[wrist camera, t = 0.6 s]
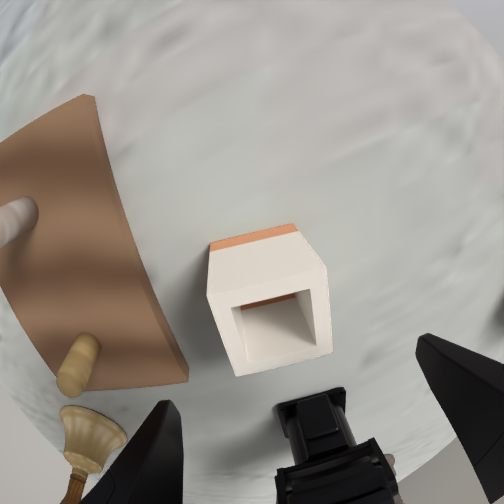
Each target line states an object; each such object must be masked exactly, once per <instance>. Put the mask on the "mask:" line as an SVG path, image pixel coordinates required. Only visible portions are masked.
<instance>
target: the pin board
mask: <svg viewBox="0 0 504 504" xmlns="http://www.w3.org/2000/svg"><path fill="white" fill-rule="evenodd" d="M0 286H1V288H2V290H3V293H4V294H5V296H6V298H7V300H8V302H9V304H10V306H11V308H12V310H13V312H14V313H15V315H16V317H17V319H18V320H19V322H20V324H21V326H22V327H23V329H24V331H25V332H26V334H27V335H28V337H29V339H30V340H31V342H32V343H33V345H34V346H35V348H36V349H37V351H38V352H39V354H40V355H41V357H42V358H43V360H44V361H45V362H46V364H47V365H48V367H49V368H50V369H51V371H52V372H53V373H54V375H55V376H56V377H57V379H56V382H57V386H58V388H59V390H60V391H61V392H62V393H63V394H64V395H65V396H68V397H77V396H79V395H80V394H81V393H82V392H83V391H97V390H116V389H130V388H141V387H151V386H161V385H169V384H177V383H184V382H188V377H189V367H188V365H187V363H186V361H185V359H184V357H183V355H182V353H181V350H180V348H179V346H178V344H177V342H176V340H175V338H174V336H173V334H172V332H171V329H170V327H169V325H168V323H167V321H166V318H165V316H164V314H163V312H162V309H161V307H160V305H159V303H158V300H157V298H156V295H155V293H154V291H153V288H152V286H151V283H150V281H149V278H148V276H147V273H146V271H145V268H144V266H143V263H142V261H141V258H140V255H139V253H138V250H137V247H136V244H135V242H134V239H133V236H132V233H131V230H130V227H129V224H128V222H127V219H126V216H125V212H124V209H123V206H122V203H121V200H120V197H119V194H118V190H117V187H116V184H115V180H114V177H113V173H112V170H111V166H110V162H109V159H108V155H107V151H106V147H105V143H104V139H103V135H102V131H101V126H100V122H99V117H98V113H97V108H96V103H95V98H94V96H90V95H86V94H82V95H80V96H78V97H76V98H74V99H72V100H70V101H68V102H66V103H64V104H62V105H60V106H59V107H57V108H55V109H53V110H51V111H49V112H48V113H46V114H44V115H43V116H41V117H39V118H37V119H36V120H34V121H33V122H31V123H29V124H28V125H26V126H25V127H23V128H22V129H20V130H18V131H17V132H15V133H14V134H12V135H11V136H10V137H8V138H7V139H5V140H4V141H2V142H1V143H0Z"/></svg>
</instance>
